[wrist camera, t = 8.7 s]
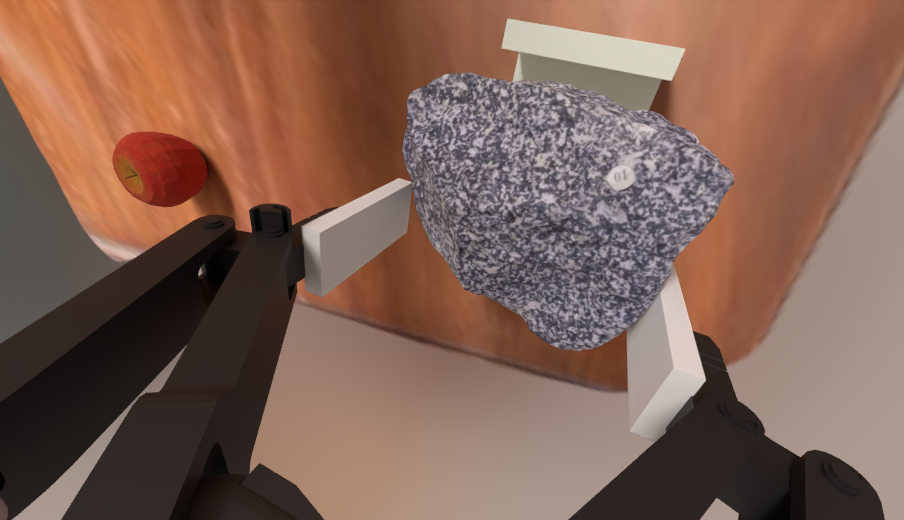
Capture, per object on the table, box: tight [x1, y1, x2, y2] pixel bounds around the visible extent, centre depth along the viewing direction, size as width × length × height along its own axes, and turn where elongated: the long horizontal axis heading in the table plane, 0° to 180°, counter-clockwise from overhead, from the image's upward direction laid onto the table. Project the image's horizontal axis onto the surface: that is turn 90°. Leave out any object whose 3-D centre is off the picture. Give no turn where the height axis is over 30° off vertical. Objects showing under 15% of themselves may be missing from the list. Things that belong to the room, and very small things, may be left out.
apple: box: [113, 132, 207, 207], centre depth 39 cm, size 8×8×8 cm
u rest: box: [502, 19, 685, 111], centre depth 25 cm, size 9×17×6 cm, turn 170°
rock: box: [403, 73, 734, 351], centre depth 15 cm, size 12×5×10 cm
